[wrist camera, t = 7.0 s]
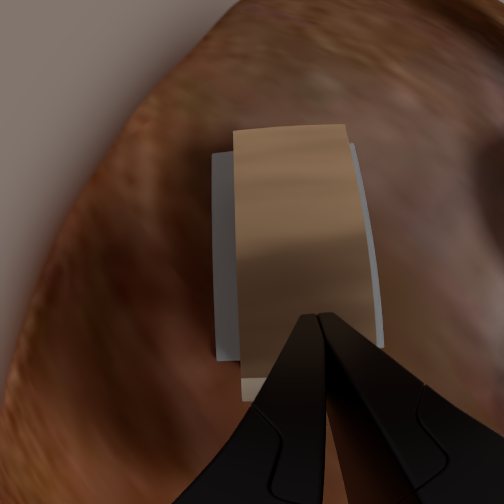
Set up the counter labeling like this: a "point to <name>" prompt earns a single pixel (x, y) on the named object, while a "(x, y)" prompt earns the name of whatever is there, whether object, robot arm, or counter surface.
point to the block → (296, 240)
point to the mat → (227, 257)
